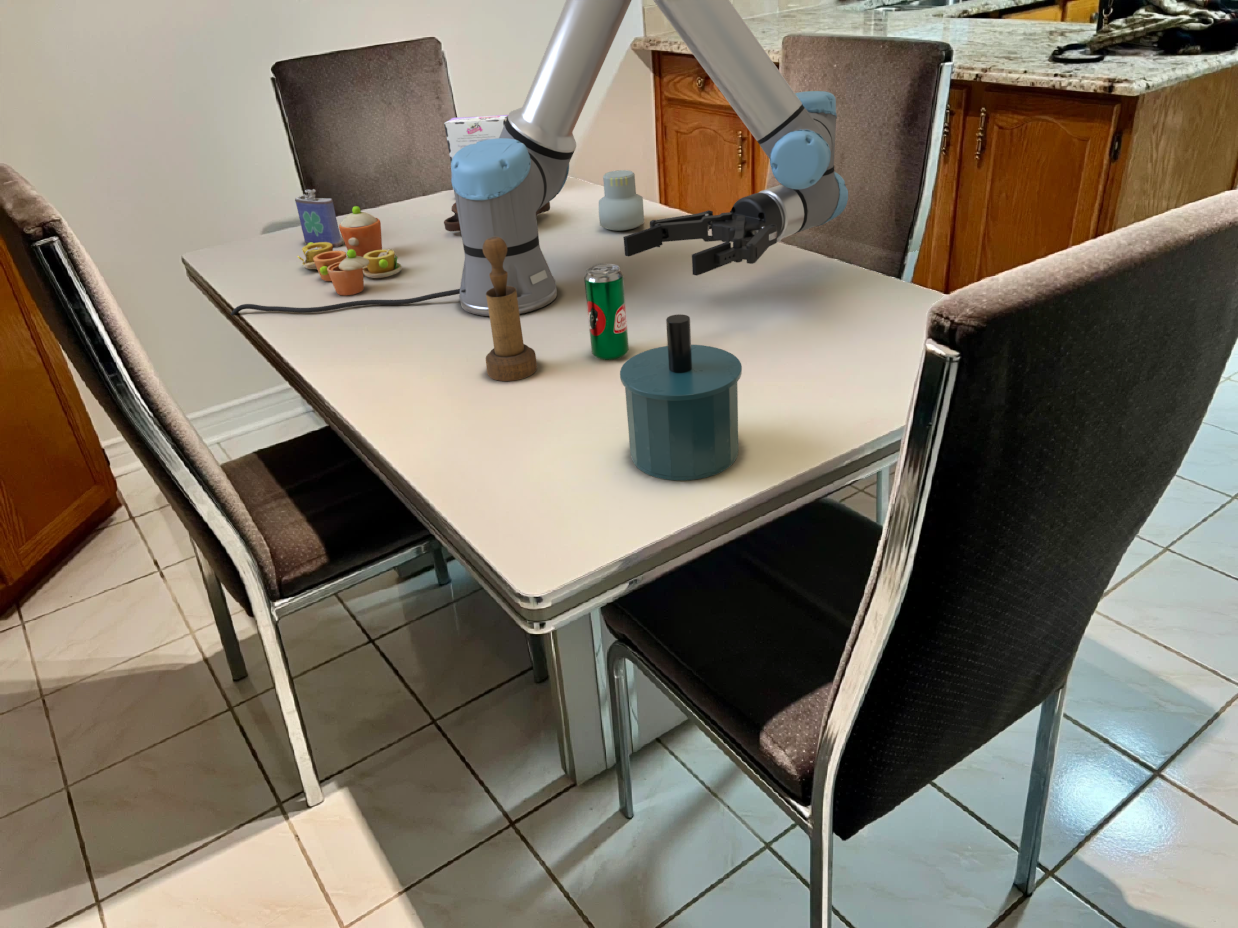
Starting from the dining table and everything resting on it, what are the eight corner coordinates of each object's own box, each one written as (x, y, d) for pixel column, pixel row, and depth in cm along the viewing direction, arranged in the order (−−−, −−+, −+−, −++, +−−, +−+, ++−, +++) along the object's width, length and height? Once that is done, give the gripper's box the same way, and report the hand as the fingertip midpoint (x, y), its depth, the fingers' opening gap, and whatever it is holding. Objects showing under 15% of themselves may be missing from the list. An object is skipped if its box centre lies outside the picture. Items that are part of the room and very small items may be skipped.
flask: (345, 243, 184) (332, 188, 178) (334, 248, 181) (321, 192, 176) (311, 240, 188) (298, 186, 182) (300, 244, 186) (286, 190, 180)
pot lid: (596, 381, 99) (590, 322, 95) (682, 344, 106) (680, 287, 102) (678, 418, 90) (675, 354, 87) (767, 375, 97) (767, 314, 94)
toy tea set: (296, 264, 174) (282, 213, 169) (377, 246, 180) (366, 196, 175) (331, 303, 154) (317, 245, 149) (421, 281, 160) (411, 225, 155)
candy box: (522, 190, 210) (512, 113, 202) (515, 197, 205) (505, 118, 197) (464, 192, 213) (452, 116, 204) (455, 199, 208) (442, 121, 199)
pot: (609, 455, 103) (602, 376, 98) (685, 418, 109) (682, 342, 105) (683, 493, 95) (678, 409, 91) (760, 450, 101) (760, 370, 97)
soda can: (625, 362, 124) (618, 275, 118) (588, 361, 125) (579, 275, 119) (632, 346, 129) (625, 262, 123) (596, 346, 130) (588, 262, 124)
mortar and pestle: (498, 385, 121) (476, 249, 112) (480, 368, 126) (459, 237, 117) (545, 372, 123) (527, 238, 114) (526, 356, 129) (508, 226, 120)
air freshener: (644, 233, 174) (641, 178, 169) (600, 236, 175) (595, 182, 170) (644, 217, 184) (640, 165, 179) (601, 220, 184) (597, 168, 179)
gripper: (832, 258, 131) (726, 301, 120) (705, 229, 148) (602, 265, 137) (834, 204, 127) (725, 244, 116) (704, 180, 145) (597, 213, 133)
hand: (658, 255), depth 127 cm, fingers open, 13 cm apart
